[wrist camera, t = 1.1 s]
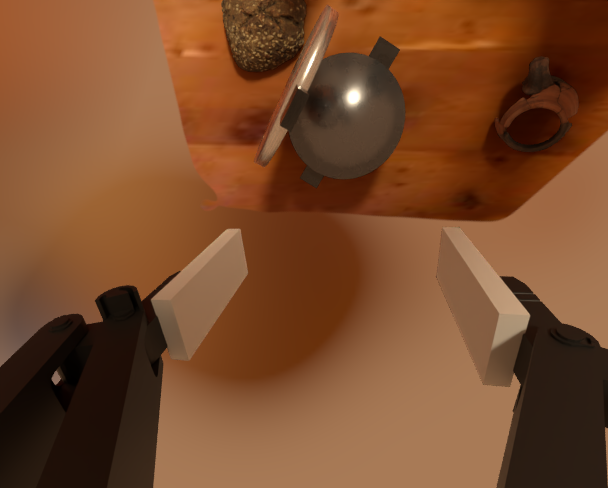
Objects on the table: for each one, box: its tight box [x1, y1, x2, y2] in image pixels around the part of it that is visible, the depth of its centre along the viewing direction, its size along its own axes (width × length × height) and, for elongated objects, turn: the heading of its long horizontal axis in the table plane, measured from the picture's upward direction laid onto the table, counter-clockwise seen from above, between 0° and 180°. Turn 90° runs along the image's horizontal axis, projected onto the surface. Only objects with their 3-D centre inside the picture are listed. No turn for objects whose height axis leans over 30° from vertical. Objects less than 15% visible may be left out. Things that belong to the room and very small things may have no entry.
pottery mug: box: [495, 56, 579, 152], centre depth 42 cm, size 12×10×8 cm
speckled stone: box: [221, 0, 306, 72], centre depth 44 cm, size 13×12×5 cm
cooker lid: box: [254, 5, 339, 167], centre depth 32 cm, size 20×17×1 cm
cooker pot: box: [289, 37, 405, 188], centre depth 45 cm, size 17×21×9 cm
